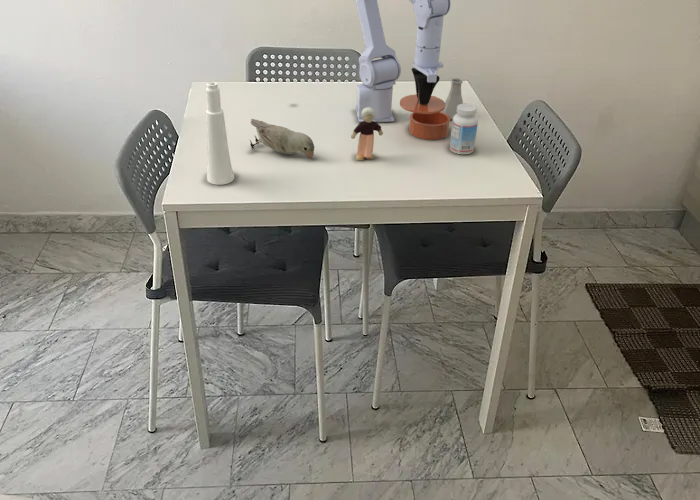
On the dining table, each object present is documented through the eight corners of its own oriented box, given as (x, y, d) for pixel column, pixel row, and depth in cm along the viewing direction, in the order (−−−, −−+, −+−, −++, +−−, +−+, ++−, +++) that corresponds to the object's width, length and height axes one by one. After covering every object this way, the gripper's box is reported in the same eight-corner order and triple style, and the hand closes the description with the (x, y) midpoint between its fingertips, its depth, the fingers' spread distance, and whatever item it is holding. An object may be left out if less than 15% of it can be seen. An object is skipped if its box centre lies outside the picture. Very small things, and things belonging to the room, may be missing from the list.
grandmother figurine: (356, 163, 157) (358, 113, 149) (348, 156, 159) (350, 106, 152) (384, 157, 160) (387, 107, 152) (376, 151, 162) (379, 101, 155)
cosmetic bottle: (237, 182, 147) (229, 87, 135) (209, 186, 145) (199, 90, 133) (231, 170, 152) (223, 77, 139) (204, 174, 150) (194, 79, 138)
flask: (467, 121, 179) (472, 85, 173) (440, 120, 179) (444, 84, 173) (464, 110, 185) (468, 75, 179) (438, 109, 185) (441, 74, 179)
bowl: (412, 140, 168) (414, 125, 166) (405, 123, 176) (407, 109, 174) (452, 139, 169) (454, 125, 167) (443, 123, 177) (445, 109, 175)
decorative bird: (309, 163, 156) (309, 134, 152) (247, 152, 160) (245, 123, 155) (317, 154, 160) (317, 125, 156) (256, 143, 164) (255, 114, 160)
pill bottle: (475, 146, 166) (482, 104, 160) (471, 157, 161) (477, 113, 155) (451, 142, 168) (457, 100, 161) (446, 152, 163) (452, 109, 156)
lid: (403, 116, 158) (405, 97, 156) (395, 98, 167) (397, 80, 165) (449, 115, 160) (452, 97, 157) (439, 98, 169) (441, 80, 166)
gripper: (452, 55, 149) (445, 112, 157) (438, 35, 161) (432, 89, 169) (421, 55, 149) (416, 112, 156) (409, 35, 160) (405, 89, 168)
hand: (422, 100), depth 163 cm, fingers closed on lid, 2 cm apart
